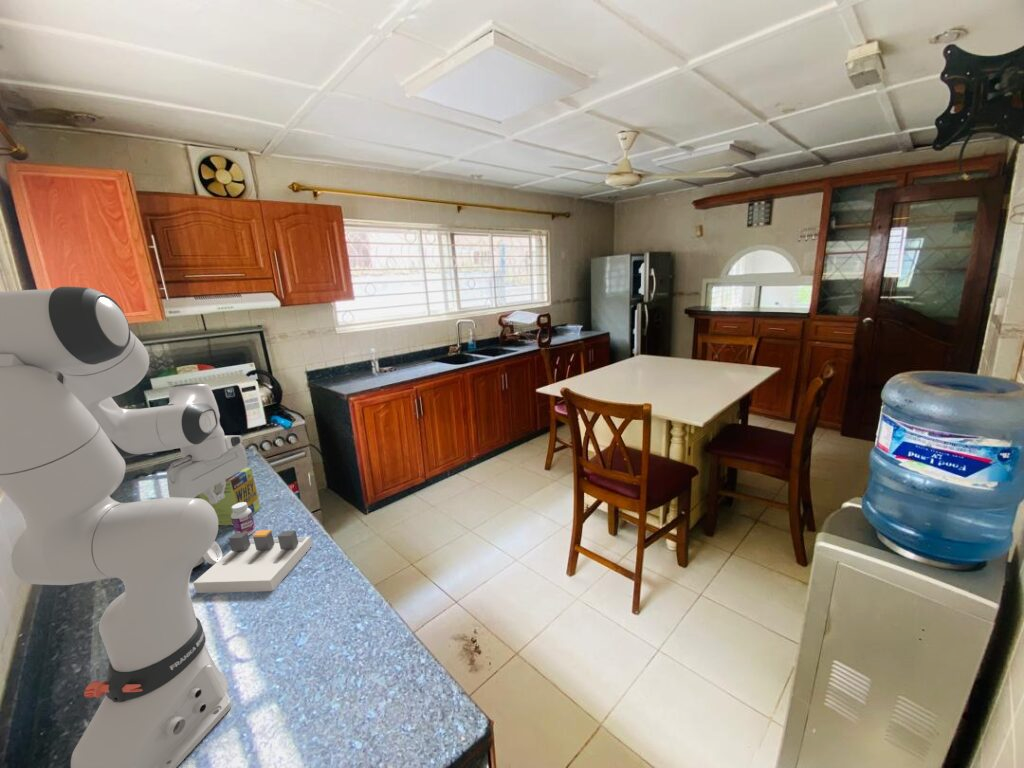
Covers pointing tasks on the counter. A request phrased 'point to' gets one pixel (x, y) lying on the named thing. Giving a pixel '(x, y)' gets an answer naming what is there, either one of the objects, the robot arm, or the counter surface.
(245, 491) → the protein box
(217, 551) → the spread jar
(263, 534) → the breaker
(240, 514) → the pill bottle
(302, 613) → the counter surface
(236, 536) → the left breaker
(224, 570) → the box
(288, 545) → the block
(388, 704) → the counter surface
